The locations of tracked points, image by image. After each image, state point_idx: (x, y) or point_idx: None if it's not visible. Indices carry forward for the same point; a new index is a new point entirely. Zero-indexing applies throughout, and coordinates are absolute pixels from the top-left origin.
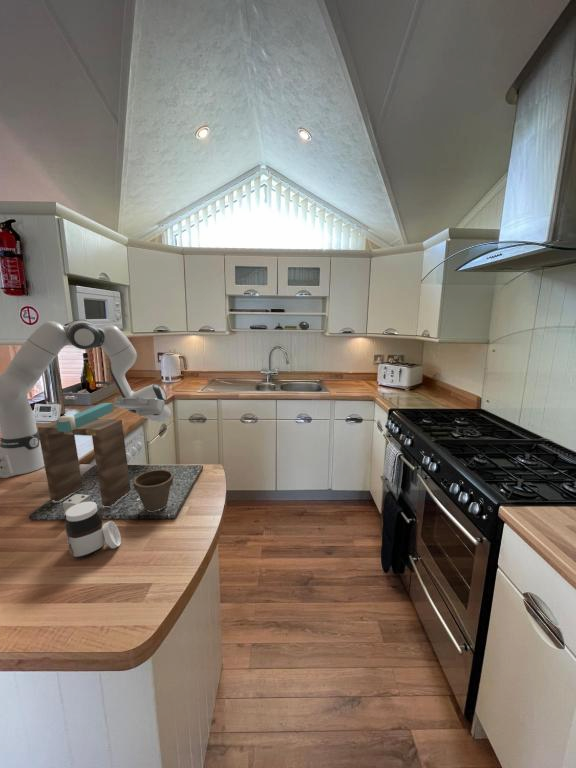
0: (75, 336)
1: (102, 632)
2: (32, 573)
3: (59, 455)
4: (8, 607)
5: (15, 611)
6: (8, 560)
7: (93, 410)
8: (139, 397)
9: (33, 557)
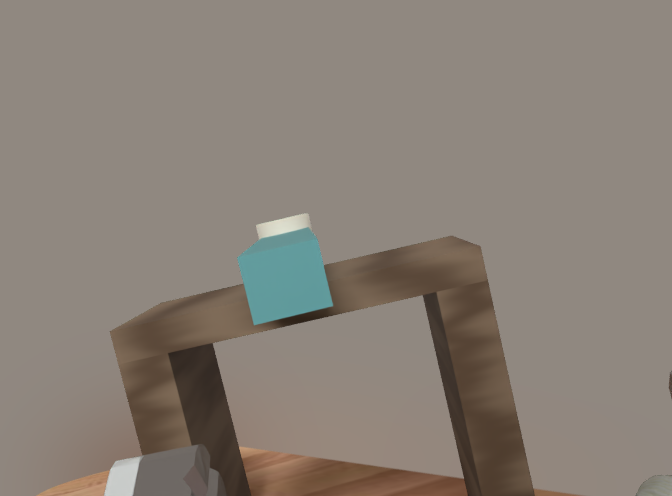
0: None
1: (97, 481)
2: (279, 473)
3: (449, 395)
4: (259, 450)
5: (242, 452)
6: (361, 465)
7: (260, 243)
8: (124, 459)
9: (315, 482)
